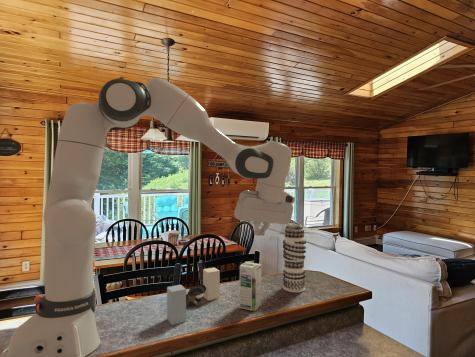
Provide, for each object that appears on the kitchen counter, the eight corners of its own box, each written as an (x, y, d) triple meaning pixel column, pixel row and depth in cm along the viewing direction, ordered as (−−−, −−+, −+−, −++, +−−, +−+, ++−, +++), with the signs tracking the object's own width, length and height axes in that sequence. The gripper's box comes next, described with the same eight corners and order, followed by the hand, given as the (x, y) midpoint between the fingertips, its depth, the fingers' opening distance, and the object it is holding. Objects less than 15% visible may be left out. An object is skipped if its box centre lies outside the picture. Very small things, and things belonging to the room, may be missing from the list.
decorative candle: (306, 285, 129) (307, 223, 128) (305, 293, 120) (305, 227, 119) (284, 283, 131) (284, 222, 131) (280, 291, 123) (281, 226, 122)
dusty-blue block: (171, 325, 96) (171, 291, 95) (167, 319, 100) (167, 287, 99) (186, 321, 98) (186, 289, 98) (180, 315, 102) (180, 284, 102)
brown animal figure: (200, 307, 105) (211, 293, 113) (187, 289, 105) (200, 276, 113) (184, 316, 108) (196, 301, 116) (172, 298, 108) (185, 284, 116)
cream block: (208, 300, 114) (208, 272, 113) (203, 296, 118) (203, 269, 117) (219, 298, 116) (219, 270, 116) (214, 293, 120) (214, 267, 120)
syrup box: (238, 308, 107) (239, 265, 107) (246, 302, 112) (246, 261, 112) (254, 312, 105) (254, 267, 104) (261, 305, 110) (261, 263, 109)
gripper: (246, 191, 93) (235, 236, 94) (299, 199, 104) (289, 240, 105) (236, 186, 99) (226, 229, 100) (287, 194, 109) (277, 233, 110)
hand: (258, 235), depth 102 cm, fingers closed
